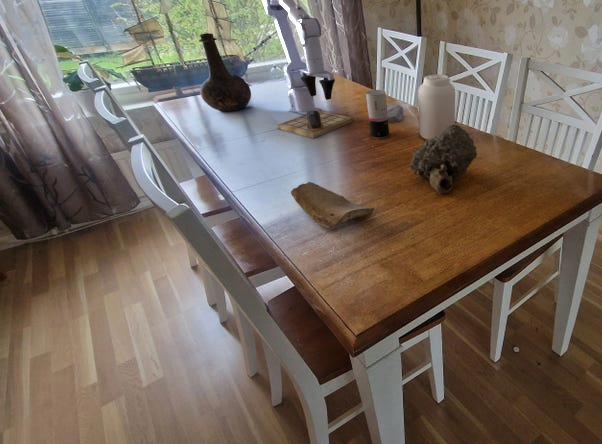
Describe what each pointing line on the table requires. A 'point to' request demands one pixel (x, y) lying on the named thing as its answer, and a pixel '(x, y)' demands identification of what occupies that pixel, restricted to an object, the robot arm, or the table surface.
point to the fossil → (327, 205)
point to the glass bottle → (222, 81)
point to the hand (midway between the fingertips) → (321, 97)
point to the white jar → (436, 105)
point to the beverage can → (377, 113)
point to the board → (302, 128)
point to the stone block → (395, 113)
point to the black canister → (314, 119)
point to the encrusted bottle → (444, 158)
